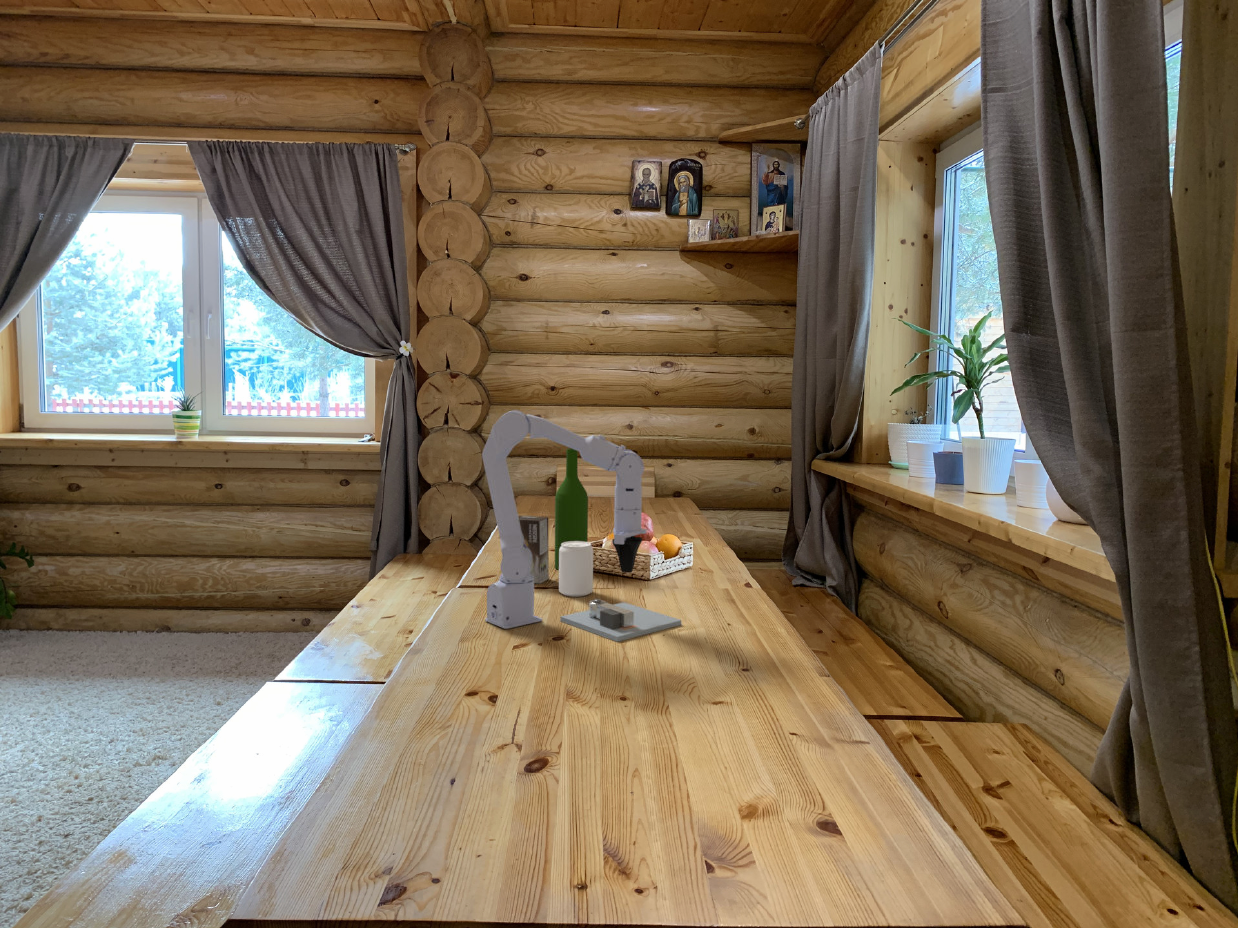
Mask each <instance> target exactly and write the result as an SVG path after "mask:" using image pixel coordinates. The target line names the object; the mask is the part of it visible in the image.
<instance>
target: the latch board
mask: <svg viewBox="0 0 1238 928" xmlns="http://www.w3.org/2000/svg"><path fill="white" fill-rule="evenodd" d="M613 605H615V606H618V607H621V608H624V609H627V610H630V611H633V612H634V625H632V626H628V627H621V626H620V618H621V613H618V612H615V611H612V610H609V609H606V610H601V611H600V619H599V618H595V617H590V616H589V609H588V610H583V611H579V612H574V613H571V614H566V615H560V617H559V618H560V622H562V623H564V624H567V625H569V626H573V627H576V628H578V629H581V630H583V631H587V632H588V633H592V634H595V635H597V636H600V637H603V638H606V639H607V640H608V639H609V640H612V641H614V642H617V643H618V642H623V641H626V640H629V639H633V638H637V637H640V636H644V635H648V634H652V633H655V632H659V631H664V630H666V629H671V628H674V627H679V626H682V619H680V618H675V617H673V616H669V615H667V614H666V615H665V614H663V613H660V612H657V611H653V610H649V609H647V608H643V607H641V606H637V605H633V604H631V603H628V602H619V603H614V604H613Z"/></svg>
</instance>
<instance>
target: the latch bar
mask: <svg viewBox="0 0 1238 928" xmlns="http://www.w3.org/2000/svg"><path fill="white" fill-rule="evenodd" d="M606 609H609V610H612V611H615V612H618V613H621V618H620V626H621V627H628V626H632V625H634V612H633V611H630V610H627V609H624V608H621V607H618V606H615V605H614V604H612V603H608V602H607V601H606V600H602V599H601V598H594V599H593V600H590V601H588V610H589V616H590V617H595V618H599V619H600V611H601V610H606Z"/></svg>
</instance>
